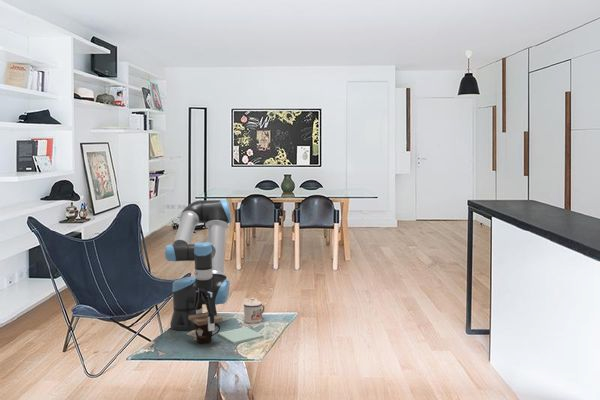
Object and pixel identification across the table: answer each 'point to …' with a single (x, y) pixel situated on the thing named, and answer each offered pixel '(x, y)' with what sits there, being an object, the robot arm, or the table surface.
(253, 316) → the teacup with lid
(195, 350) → the table surface
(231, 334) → the sage mat
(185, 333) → the table surface
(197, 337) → the coffee mug
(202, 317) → the walnut lid
